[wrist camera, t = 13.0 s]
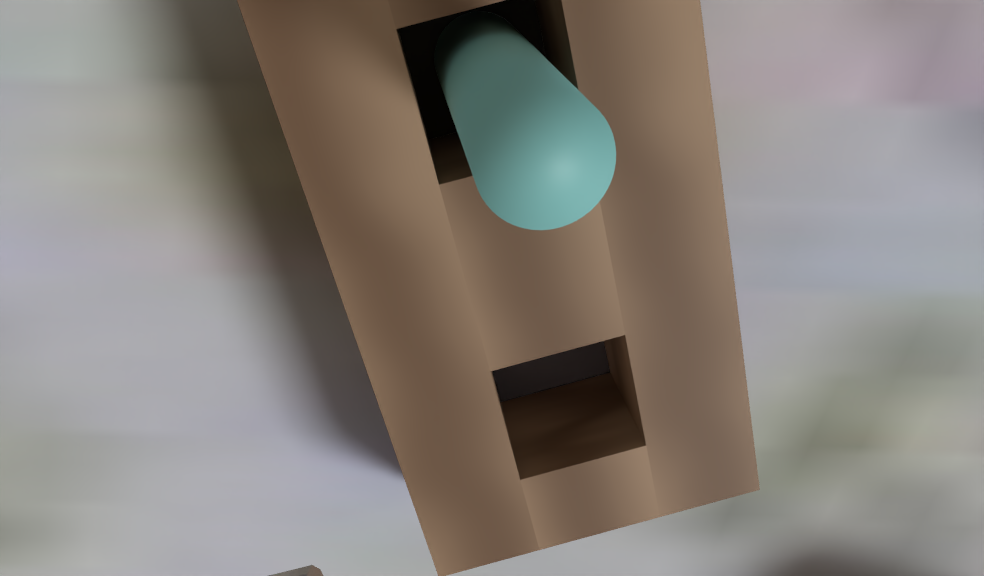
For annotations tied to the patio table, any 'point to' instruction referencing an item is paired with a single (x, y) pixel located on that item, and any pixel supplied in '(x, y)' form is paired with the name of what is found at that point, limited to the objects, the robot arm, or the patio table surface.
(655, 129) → the hole block
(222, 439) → the patio table surface
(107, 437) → the patio table surface
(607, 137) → the peg
